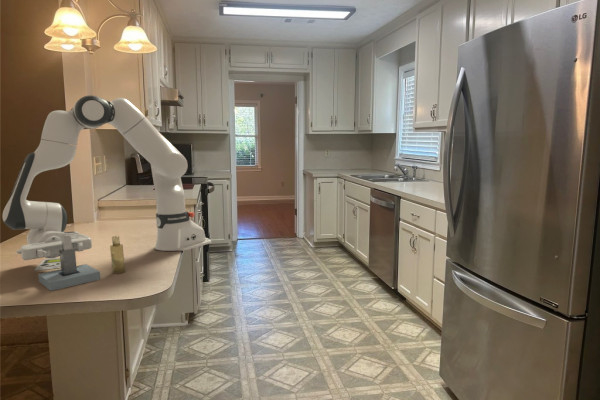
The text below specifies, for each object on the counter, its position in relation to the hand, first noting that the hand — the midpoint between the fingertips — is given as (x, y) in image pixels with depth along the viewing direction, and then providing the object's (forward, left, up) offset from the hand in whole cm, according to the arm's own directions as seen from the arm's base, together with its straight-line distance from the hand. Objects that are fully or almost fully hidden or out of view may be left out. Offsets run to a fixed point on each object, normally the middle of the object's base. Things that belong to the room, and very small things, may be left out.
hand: (64, 251), depth 132 cm
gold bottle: (-14, +6, -9) cm, 17 cm away
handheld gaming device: (-2, -22, -9) cm, 24 cm away
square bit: (0, +3, -9) cm, 9 cm away
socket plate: (0, +3, -9) cm, 9 cm away
